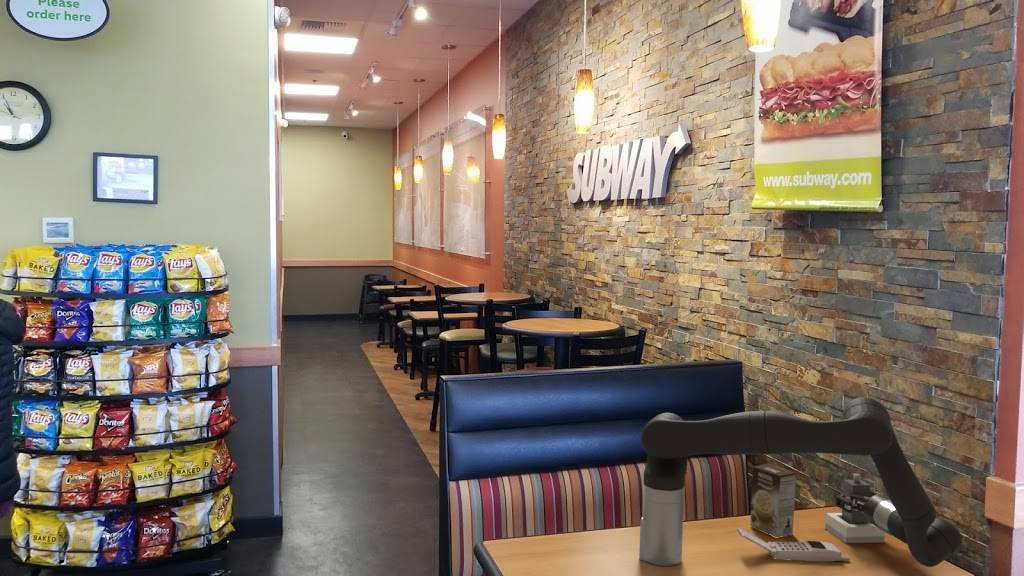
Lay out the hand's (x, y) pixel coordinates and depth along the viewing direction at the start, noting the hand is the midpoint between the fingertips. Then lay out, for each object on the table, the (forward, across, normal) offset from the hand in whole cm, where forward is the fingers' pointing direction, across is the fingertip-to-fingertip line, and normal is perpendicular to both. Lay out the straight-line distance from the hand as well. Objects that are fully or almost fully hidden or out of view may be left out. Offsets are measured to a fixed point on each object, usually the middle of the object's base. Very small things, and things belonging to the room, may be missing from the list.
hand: (851, 493), depth 201 cm
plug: (-2, 0, +8) cm, 9 cm away
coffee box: (+2, +20, +10) cm, 23 cm away
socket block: (-2, 0, +10) cm, 10 cm away
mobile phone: (-14, +22, +10) cm, 28 cm away
